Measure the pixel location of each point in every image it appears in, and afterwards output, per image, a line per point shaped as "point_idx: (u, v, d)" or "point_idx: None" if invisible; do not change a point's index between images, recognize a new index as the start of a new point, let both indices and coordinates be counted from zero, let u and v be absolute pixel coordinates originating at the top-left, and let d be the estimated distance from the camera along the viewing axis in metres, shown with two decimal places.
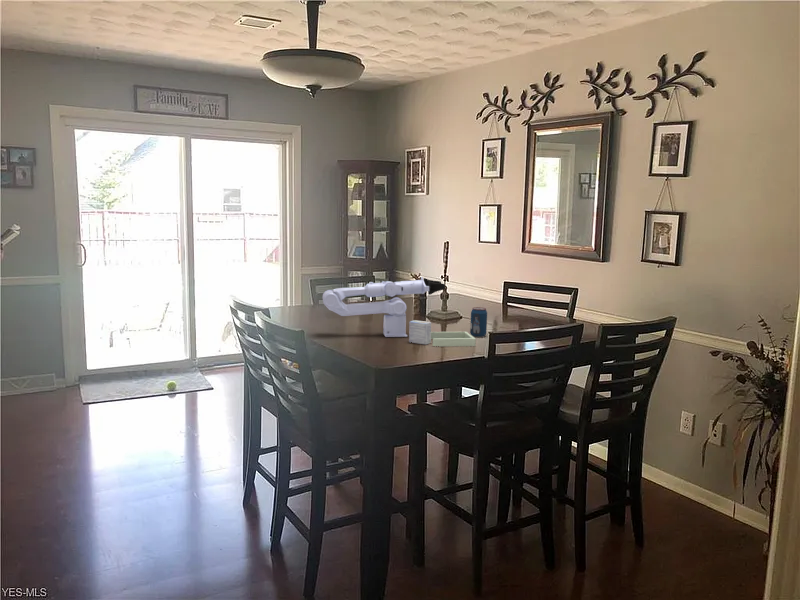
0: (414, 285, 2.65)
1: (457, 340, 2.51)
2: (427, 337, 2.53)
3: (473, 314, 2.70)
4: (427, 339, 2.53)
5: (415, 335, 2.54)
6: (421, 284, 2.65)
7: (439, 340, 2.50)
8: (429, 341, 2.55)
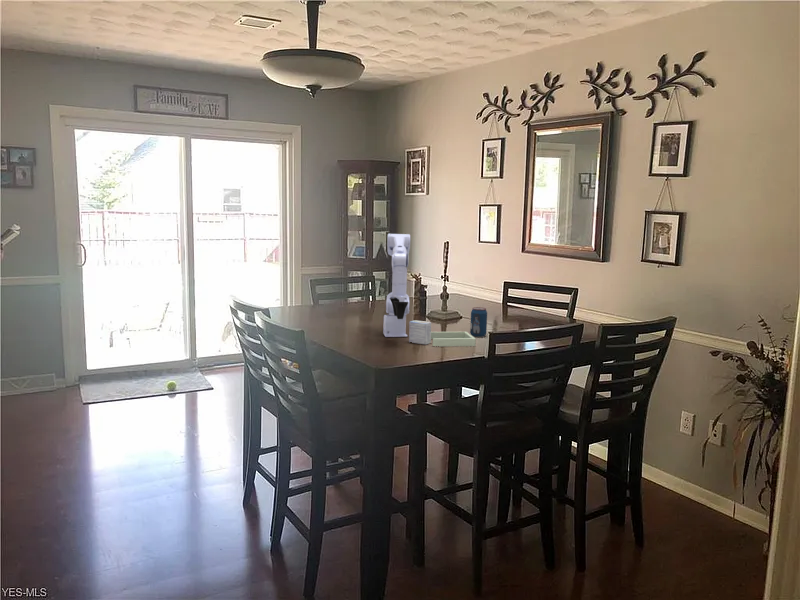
0: None
1: (457, 340, 2.51)
2: (427, 337, 2.53)
3: (473, 314, 2.70)
4: (427, 339, 2.53)
5: (415, 335, 2.54)
6: None
7: (439, 340, 2.50)
8: (429, 341, 2.55)
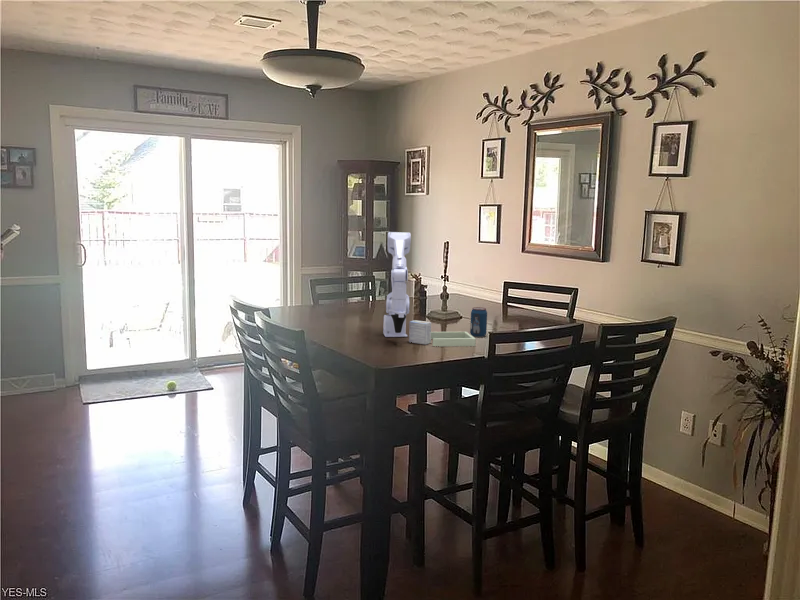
0: None
1: (457, 340, 2.51)
2: (427, 337, 2.53)
3: (473, 314, 2.70)
4: (427, 339, 2.53)
5: (415, 335, 2.54)
6: None
7: (439, 340, 2.50)
8: (429, 341, 2.55)
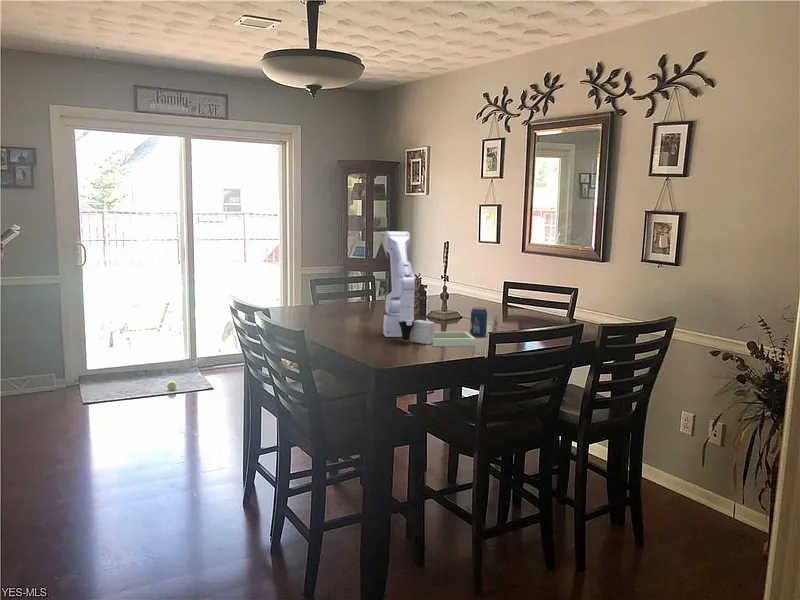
0: None
1: (457, 340, 2.51)
2: (429, 337, 2.53)
3: (473, 314, 2.70)
4: (430, 339, 2.53)
5: (418, 335, 2.55)
6: None
7: (439, 340, 2.50)
8: (432, 341, 2.55)
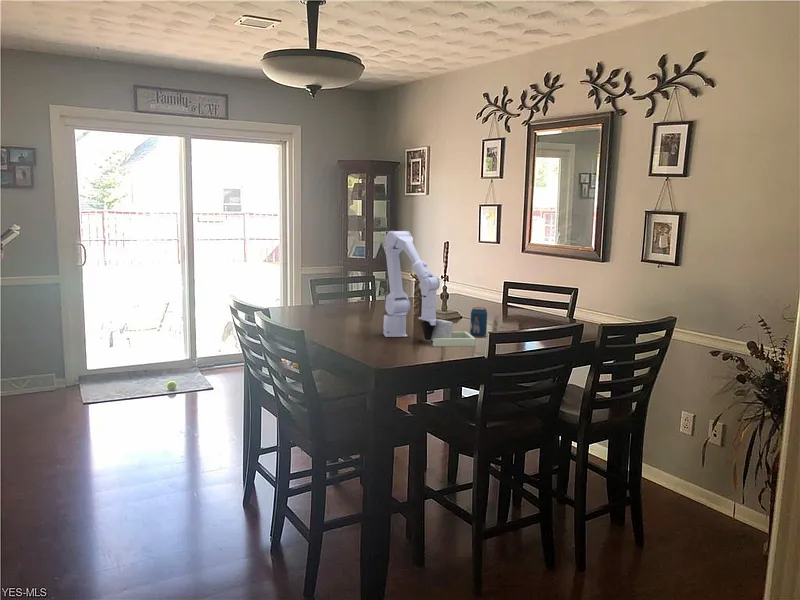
0: None
1: (457, 340, 2.51)
2: (445, 336, 2.54)
3: (473, 314, 2.70)
4: None
5: (435, 333, 2.57)
6: None
7: (439, 340, 2.50)
8: None
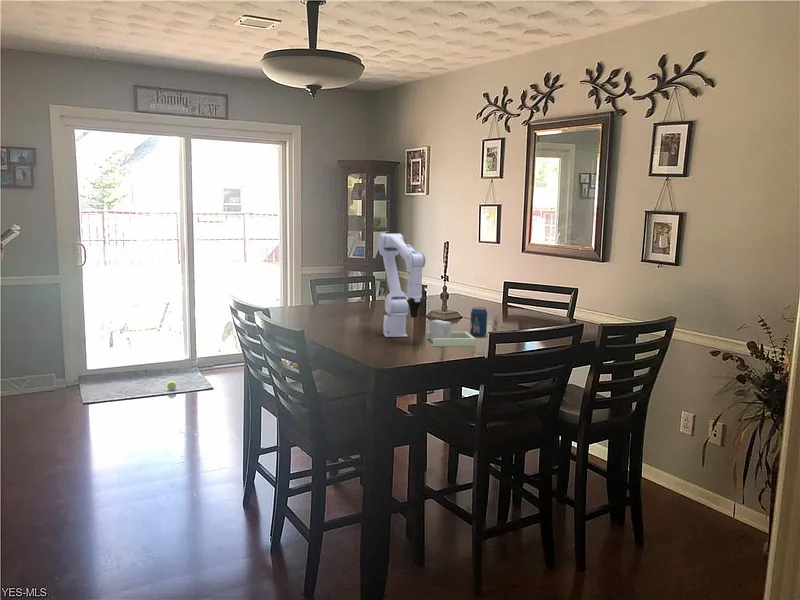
0: None
1: (457, 340, 2.51)
2: (445, 337, 2.54)
3: (473, 314, 2.70)
4: None
5: (434, 335, 2.57)
6: None
7: (439, 340, 2.50)
8: None
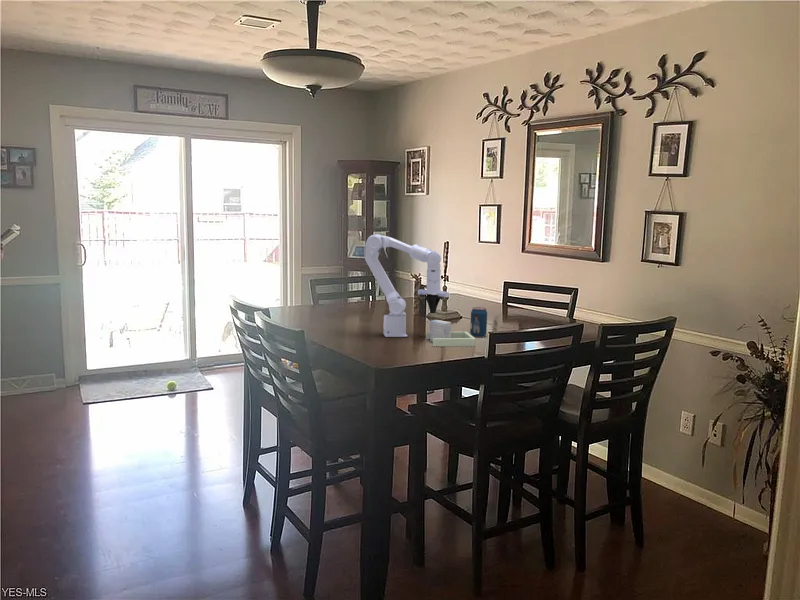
0: None
1: (457, 340, 2.51)
2: (445, 337, 2.54)
3: (473, 314, 2.70)
4: None
5: (434, 335, 2.57)
6: None
7: (439, 340, 2.50)
8: None
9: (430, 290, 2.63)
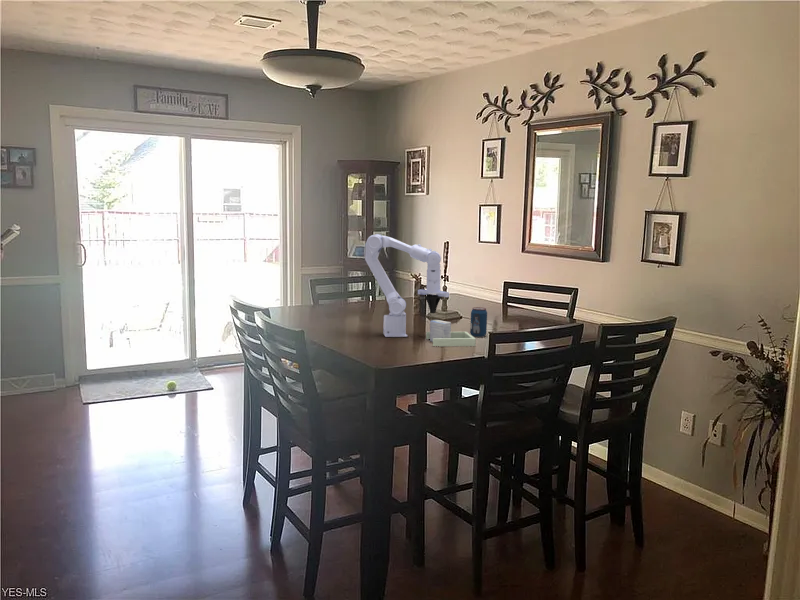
0: None
1: (457, 340, 2.51)
2: (445, 337, 2.54)
3: (473, 314, 2.70)
4: None
5: (434, 335, 2.57)
6: None
7: (439, 340, 2.50)
8: None
9: (430, 290, 2.63)
